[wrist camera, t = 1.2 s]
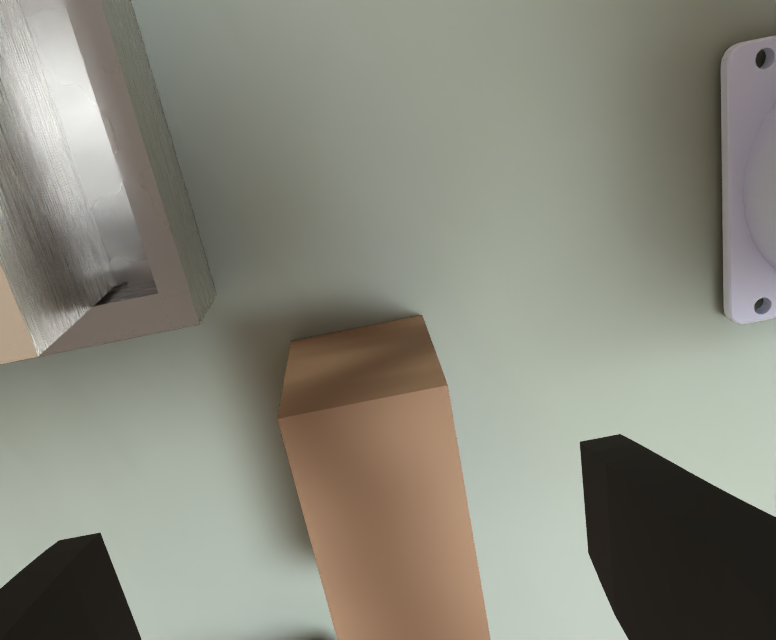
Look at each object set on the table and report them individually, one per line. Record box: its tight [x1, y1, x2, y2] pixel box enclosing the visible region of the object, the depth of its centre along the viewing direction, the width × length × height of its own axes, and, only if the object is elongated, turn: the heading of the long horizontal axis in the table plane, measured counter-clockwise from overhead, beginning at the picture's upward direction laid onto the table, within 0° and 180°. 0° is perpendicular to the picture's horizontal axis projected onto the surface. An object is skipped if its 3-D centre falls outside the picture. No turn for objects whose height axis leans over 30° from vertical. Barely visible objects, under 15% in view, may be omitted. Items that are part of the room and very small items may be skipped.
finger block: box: [277, 315, 490, 640], centre depth 19 cm, size 4×8×5 cm, turn 10°
